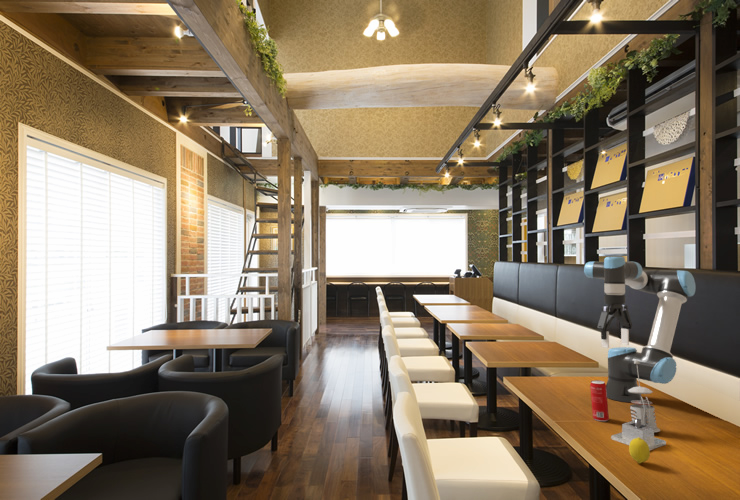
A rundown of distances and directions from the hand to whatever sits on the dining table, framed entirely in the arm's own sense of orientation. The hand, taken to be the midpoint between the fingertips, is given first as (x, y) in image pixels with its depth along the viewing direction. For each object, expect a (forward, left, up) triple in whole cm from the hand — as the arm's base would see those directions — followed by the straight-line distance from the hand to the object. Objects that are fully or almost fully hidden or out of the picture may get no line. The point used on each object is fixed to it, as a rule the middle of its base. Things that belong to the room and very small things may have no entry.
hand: (615, 346), depth 180 cm
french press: (+6, +15, -28) cm, 32 cm away
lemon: (+35, +29, -29) cm, 54 cm away
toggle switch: (+18, +19, -29) cm, 39 cm away
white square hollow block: (+18, +19, -28) cm, 38 cm away
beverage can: (+9, -1, -29) cm, 30 cm away
